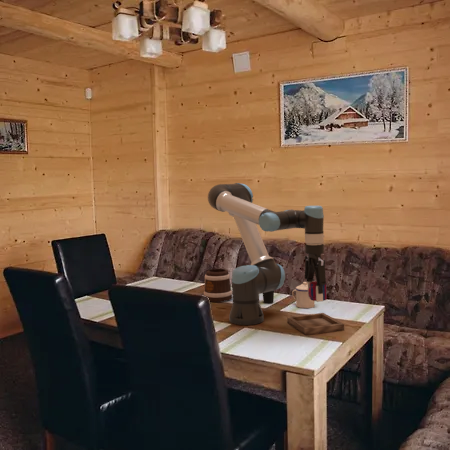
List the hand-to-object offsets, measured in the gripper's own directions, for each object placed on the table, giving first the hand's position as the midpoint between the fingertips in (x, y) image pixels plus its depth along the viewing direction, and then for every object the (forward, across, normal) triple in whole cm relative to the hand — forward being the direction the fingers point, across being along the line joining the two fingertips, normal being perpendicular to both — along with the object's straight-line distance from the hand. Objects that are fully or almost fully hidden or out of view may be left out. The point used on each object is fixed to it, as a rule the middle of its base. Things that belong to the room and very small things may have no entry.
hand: (315, 299), depth 205 cm
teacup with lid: (+12, +33, -9) cm, 36 cm away
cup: (0, -1, 0) cm, 1 cm away
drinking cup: (+12, +45, +4) cm, 46 cm away
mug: (+12, +64, +26) cm, 70 cm away
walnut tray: (+12, +1, 0) cm, 12 cm away
